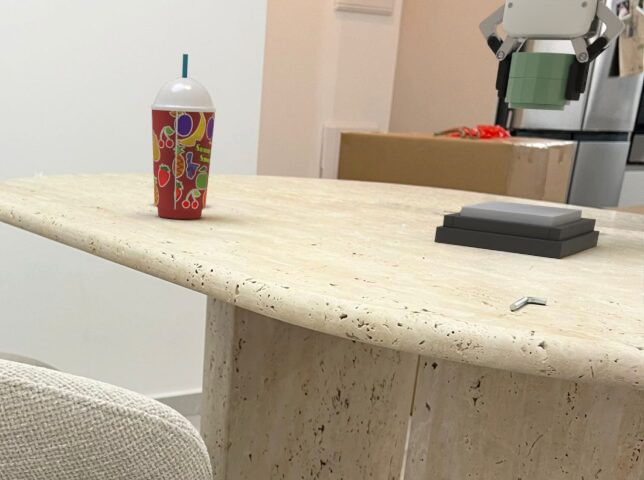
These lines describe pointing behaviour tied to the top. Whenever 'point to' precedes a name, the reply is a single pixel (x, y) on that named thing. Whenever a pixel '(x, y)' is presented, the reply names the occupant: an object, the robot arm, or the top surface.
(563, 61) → the green stacked cylinder
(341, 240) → the top surface
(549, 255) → the scale
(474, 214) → the pan
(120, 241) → the top surface
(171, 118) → the smoothie
